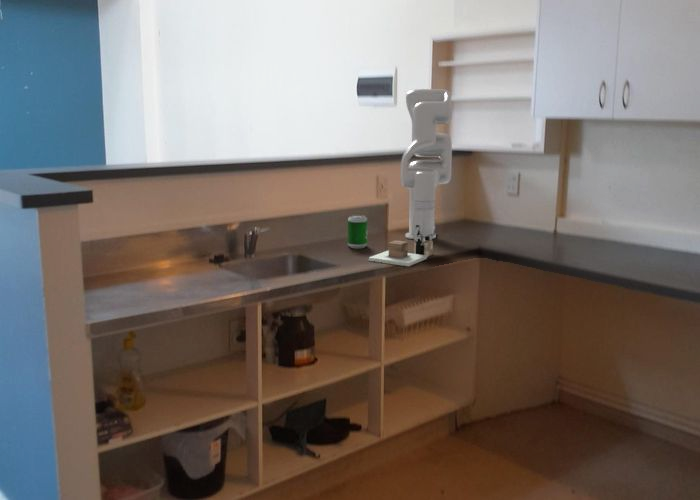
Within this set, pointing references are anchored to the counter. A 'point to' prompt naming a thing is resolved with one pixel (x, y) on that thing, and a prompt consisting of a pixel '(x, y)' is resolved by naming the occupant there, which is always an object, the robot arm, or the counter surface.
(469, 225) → the counter surface
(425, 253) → the maple cube
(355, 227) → the soda can
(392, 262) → the build board
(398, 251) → the walnut cube
